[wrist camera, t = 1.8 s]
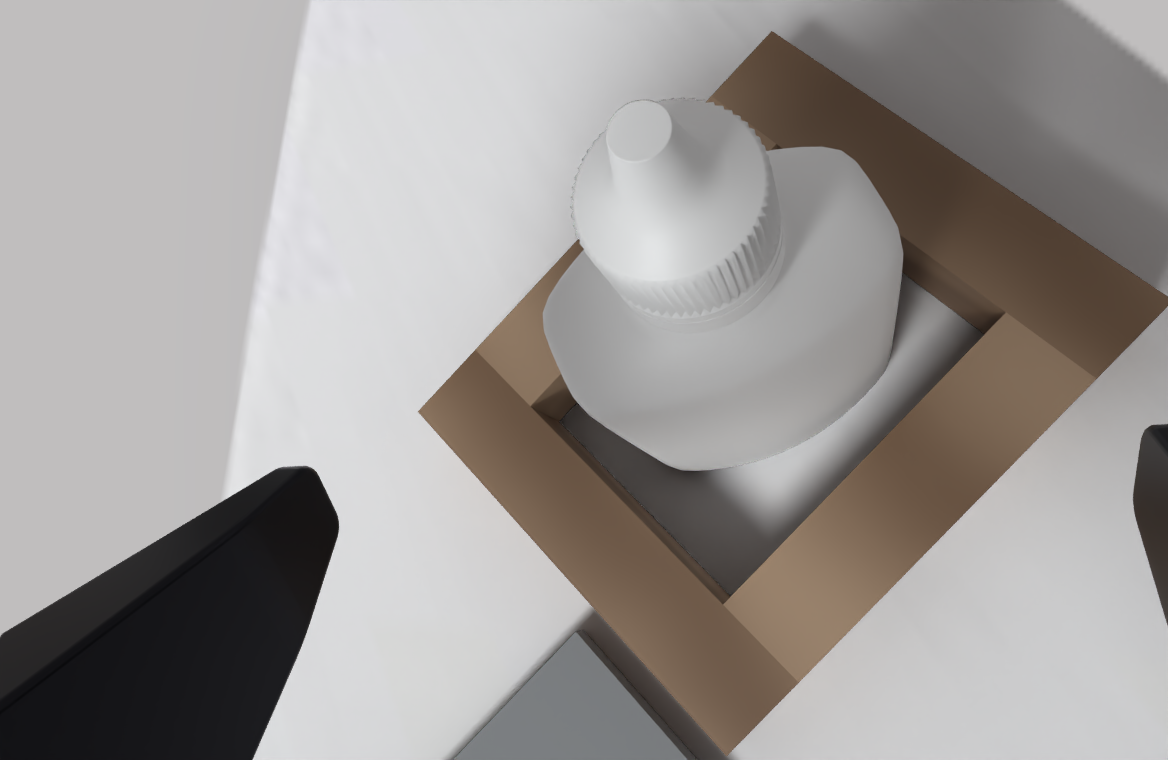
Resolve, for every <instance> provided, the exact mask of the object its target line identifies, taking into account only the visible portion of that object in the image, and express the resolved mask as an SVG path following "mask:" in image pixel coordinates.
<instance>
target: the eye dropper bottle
mask: <svg viewBox="0 0 1168 760" xmlns="http://www.w3.org/2000/svg"><path fill="white" fill-rule="evenodd" d="M582 162H583V163H582V164H581V165H580V166H579V168H578V170H579V172H578V173H577V175H576V176H575V180H576V182H575V183H574V185H573V187H572V188H573V190H574V192H573V194H572V196H571V198H572V200H573V202H572V204H571V209H572V210H573V212H572V215H571V217H572V218H573V220H574V223H573V227H574V228H575V229H576V236H577V237H578V238H579V240H580V243H579V244H580V245H581V246H582V247H583V248H584V250H583V251H582V252H581V253H580V254H579V256H578V257H577V258H576V259H575V260H574V262H573V263H572V264H571V265H570V267H569V268H568V269H567V270H566V272H565V273H564V274H563V276H562V277H561V278H560V280H559V281H558V283H557V284H556V286H555V287H554V289H553V291H552V292H551V294H550V295H549V297H548V300H547V303H546V305H545V308H544V311H543V326H544V333H545V336H546V339H547V341H548V344H549V347H550V349H551V352H552V354H553V356H554V359H555V361H556V363H557V366H558V368H559V370H560V372H561V375H562V377H563V379H564V381H565V383H566V385H567V387H568V389H569V391H570V393H571V395H572V396H573V398H574V399H575V400H576V401H577V403H578V404H579V405H580V406H581V407H582V408H583V409H584V410H585V411H586V412H587V414H588V415H589V416H591V417H592V418H594V419H595V420H596V421H598V422H599V423H601V424H602V425H603V426H605V427H606V428H608V429H609V430H611V431H612V432H614V433H616V434H617V435H619V436H620V437H622V438H624V439H625V440H627V441H628V442H630V443H631V444H633V445H635V446H636V447H638V448H640V449H641V450H643V451H645V452H646V453H648V454H649V455H651V456H653V457H654V458H656V459H658V460H659V461H661V462H663V463H664V464H666V465H668V466H670V467H673V468H676V469H679V470H683V471H702V470H714V469H721V468H728V467H734V466H739V465H743V464H747V463H751V462H755V461H758V460H762V459H765V458H768V457H771V456H773V455H776V454H779V453H781V452H784V451H786V450H788V449H790V448H792V447H795V446H797V445H798V444H800V443H802V442H804V441H806V440H808V439H810V438H811V437H813V436H815V435H816V434H818V433H820V432H821V431H823V430H824V429H825V428H827V427H828V426H830V425H831V424H833V423H834V422H835V421H836V420H838V419H839V418H840V417H842V416H843V415H844V414H845V413H846V412H848V411H849V410H850V409H851V408H852V407H853V406H854V405H855V404H856V403H857V402H858V401H860V400H861V399H862V398H863V397H864V396H865V395H866V394H867V392H868V391H869V390H870V389H871V388H872V387H873V386H874V385H875V384H876V382H877V381H878V380H879V378H880V377H881V376H882V374H883V373H884V372H885V370H886V367H887V364H888V362H889V359H890V355H891V349H892V343H893V336H894V329H895V323H896V316H897V309H898V301H899V294H900V287H901V279H902V267H903V249H902V244H901V239H900V234H899V230H898V226H897V224H896V223H895V221H894V219H893V217H892V215H891V213H890V211H889V210H888V208H887V206H886V205H885V203H884V202H883V200H882V198H881V197H880V195H879V194H878V192H877V190H876V189H875V187H874V186H873V184H872V183H871V181H870V180H869V178H868V177H867V175H866V174H865V173H864V171H863V170H862V169H861V167H860V166H859V165H858V163H857V162H856V161H855V160H854V159H852V158H851V157H850V156H848V155H847V154H846V153H844V152H843V151H841V150H837V149H832V148H827V147H795V148H785V149H776V150H770V151H766V149H765V146H764V145H762V144H761V139H760V137H758V136H756V134H755V130H754V129H752V128H749V126H748V122H745V121H742V120H741V117H740V116H739V115H733V112H732V110H725V109H724V107H723V106H716V105H715V104H714V102H707V103H706V102H705V100H697V101H696V100H695V99H694V98H692V99H687V100H686V99H685V98H681V99H674V98H672V99H670V100H661V101H659V102H654V101H651V100H637V101H633V102H630V103H628V104H626V105H624V106H623V107H621V108H620V109H619V110H618V111H617V112H616V113H615V114H614V115H613V116H612V118H611V119H610V121H609V123H608V126H607V129H606V130H605V131H604V132H603V133H601V134H600V135H599V138H598V139H597V140H595V141H594V142H593V145H592V147H591V148H589V149H588V150H587V155H586V156H585V157H584V158H583V159H582Z"/></svg>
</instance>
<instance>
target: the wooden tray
mask: <svg viewBox="0 0 1168 760" xmlns="http://www.w3.org/2000/svg"><path fill="white" fill-rule="evenodd" d="M707 102H714V104H715V105H716V106H723V107H724V109H725V110H732V112H733V115H739V116H740V117H741V120H742V121H745V122H748V126H749V128H752V129H754V130H755V134H756V136H758V137H760V139H761V144H762V145H764V146H765V149H766V151H770V150H776V149H785V148H795V147H827V148H832V149H837V150H841V151H843V152H844V153H846V154H847V155H848V156H850V157H851V158H852V159H854V160H855V161H856V162H857V163H858V165H859V166H860V167H861V169H862V170H863V171H864V173H865V174H866V175H867V177H868V178H869V180H870V181H871V183H872V184H873V186H874V187H875V189H876V190H877V192H878V194H879V195H880V197H881V198H882V200H883V202H884V203H885V205H886V206H887V208H888V210H889V211H890V213H891V215H892V217H893V219H894V221H895V223H896V224H897V226H898V230H899V234H900V239H901V244H902V249H903V267H902V273H904V274H905V275H906V276H908V277H909V278H910V279H912V280H913V281H914V282H916V283H917V284H918V285H920V286H921V287H922V288H924V289H925V290H926V291H928V292H929V293H930V294H932V295H933V296H934V297H936V298H937V299H938V300H940V301H941V302H942V303H944V304H945V305H946V306H948V307H949V308H950V309H952V310H953V311H954V312H956V313H957V314H958V315H960V316H961V317H962V318H964V319H965V320H966V321H967V322H969V323H970V324H971V325H973V326H974V327H975V328H977V329H978V330H979V331H981V332H982V333H983V334H985V335H984V336H983V337H982V338H981V339H980V340H979V341H978V342H977V343H976V344H975V345H974V346H973V347H972V348H971V349H970V350H969V351H968V352H967V353H966V354H965V355H964V356H963V357H962V358H961V359H960V360H959V361H958V362H957V363H956V364H955V365H954V367H953V368H952V369H951V370H950V371H949V372H948V373H947V374H946V375H945V376H944V377H943V378H942V379H941V380H940V381H939V382H938V383H937V384H936V385H935V386H934V387H933V388H932V389H931V390H930V391H929V392H928V393H927V394H926V395H925V396H924V398H923V399H922V400H921V401H920V402H919V403H918V404H917V405H916V406H915V407H914V408H913V409H912V410H911V411H910V412H909V413H908V414H907V415H906V416H905V417H904V418H903V419H902V420H901V421H900V422H899V423H898V424H897V425H896V426H895V427H894V428H893V430H892V431H891V432H890V433H889V434H888V435H887V436H886V437H885V438H884V439H883V440H882V441H881V442H880V443H879V444H878V445H877V446H876V447H875V448H874V449H873V450H872V451H871V452H870V453H869V454H868V455H867V456H866V457H865V458H864V459H863V461H862V462H861V463H860V464H859V465H858V466H857V467H856V468H855V469H854V470H853V471H852V472H851V473H850V474H849V475H848V476H847V477H846V478H845V479H844V480H843V481H842V482H841V483H840V484H839V485H838V486H837V487H836V488H835V489H834V490H833V491H832V493H831V494H830V495H829V496H828V497H827V498H826V499H825V500H824V501H823V502H822V503H821V504H820V505H819V506H818V507H817V508H816V509H815V510H814V511H813V512H812V513H811V514H810V515H809V516H808V517H807V518H806V519H805V520H804V521H803V522H802V524H801V525H800V526H799V527H798V528H797V529H796V530H795V531H794V532H793V533H792V534H791V535H790V536H789V537H788V538H787V539H786V540H785V541H784V542H783V543H782V544H781V545H780V546H779V547H778V548H777V549H776V550H775V551H774V552H773V553H772V554H771V556H770V557H769V558H768V559H767V560H766V561H765V562H764V563H763V564H762V565H761V566H760V567H759V568H758V569H757V570H756V571H755V572H754V573H753V574H752V575H751V576H750V577H749V578H748V579H747V580H746V581H745V582H744V583H743V584H742V585H741V586H740V588H739V589H738V590H737V591H736V592H735V593H734V594H733V595H732V596H730V595H729V594H728V593H727V592H726V591H725V590H724V589H723V588H722V587H721V586H720V585H719V584H718V583H717V582H716V581H715V580H714V579H713V578H712V577H711V576H710V575H709V574H708V573H707V572H706V571H705V570H704V569H703V568H702V567H701V566H700V565H699V564H698V563H697V562H696V561H695V560H694V559H693V558H692V557H691V556H690V555H689V554H688V553H687V552H686V551H685V550H684V548H683V547H682V546H681V545H680V544H679V543H678V542H677V541H676V540H675V539H674V538H673V537H672V536H671V535H670V534H669V533H668V532H667V531H666V530H665V529H664V528H663V527H662V526H661V525H660V524H659V523H658V522H657V521H656V520H655V519H654V518H653V517H652V516H651V515H650V514H649V513H648V512H647V511H646V510H645V509H644V508H643V507H642V506H641V505H640V504H639V503H638V502H637V501H636V500H635V499H634V497H633V496H632V495H631V494H630V493H629V492H628V491H627V490H626V489H625V488H624V487H623V486H622V485H621V484H620V483H619V482H618V481H617V480H616V479H615V478H614V477H613V476H612V475H611V474H610V473H609V472H608V471H607V470H606V469H605V468H604V467H603V466H602V465H601V464H600V463H599V462H598V461H597V460H596V459H595V458H594V457H593V456H592V455H591V454H590V453H589V452H588V451H587V450H586V449H585V448H584V446H583V445H582V444H581V443H580V442H579V441H578V440H577V439H576V438H575V437H574V436H573V435H572V434H571V433H570V432H569V431H568V430H567V429H566V428H565V427H564V426H563V425H562V424H561V423H560V422H559V421H560V420H561V419H562V418H563V417H564V416H565V415H566V414H567V412H568V411H569V410H570V409H571V408H572V407H573V406H574V405H575V404H576V403H577V401H576V400H575V399H574V398H573V396H572V395H571V393H570V391H569V389H568V387H567V385H566V383H565V381H564V379H563V377H562V375H561V372H560V370H559V368H558V366H557V363H556V361H555V359H554V356H553V354H552V352H551V349H550V347H549V344H548V341H547V339H546V336H545V333H544V326H543V311H544V308H545V305H546V303H547V300H548V297H549V295H550V294H551V292H552V291H553V289H554V287H555V286H556V284H557V283H558V281H559V280H560V278H561V277H562V276H563V274H564V273H565V272H566V270H567V269H568V268H569V267H570V265H571V264H572V263H573V262H574V260H575V259H576V258H577V257H578V256H579V254H580V253H581V252H582V251H583V250H584V248H583V247H582V246H581V245H580V244H579V243H580V240H579V239H578V240H577V241H576V242H575V243H574V244H573V245H572V247H571V248H570V249H569V250H568V251H567V252H566V253H565V254H564V255H563V256H562V257H561V258H560V259H559V261H558V262H557V263H556V264H555V265H554V266H553V267H552V268H551V269H550V270H549V271H548V272H547V273H546V274H545V276H544V277H543V278H542V279H541V280H540V281H539V282H538V283H537V284H536V285H535V286H534V287H533V288H532V290H531V291H530V292H529V293H528V294H527V295H526V296H525V297H524V298H523V299H522V300H521V301H520V302H519V304H518V305H517V306H516V307H515V308H514V309H513V310H512V311H511V312H510V313H509V314H508V315H507V316H506V318H505V319H504V320H503V321H502V322H501V323H500V324H499V325H498V326H497V327H496V328H495V329H494V330H493V331H492V333H491V334H490V335H489V336H488V337H487V338H486V339H485V340H484V341H483V342H482V343H481V344H480V345H479V347H478V348H477V349H476V350H475V351H474V352H473V353H472V354H471V355H470V356H469V357H468V358H467V359H466V361H465V362H464V363H463V364H462V365H461V366H460V367H459V368H458V369H457V370H456V371H455V372H454V373H453V375H452V376H451V377H450V378H449V379H448V380H447V381H446V382H445V383H444V384H443V385H442V386H441V387H440V388H439V390H438V391H437V392H436V393H435V394H434V395H433V396H432V397H431V398H430V399H429V400H428V401H427V402H426V404H425V405H424V406H423V407H422V408H421V409H420V410H419V411H418V412H419V413H420V415H421V416H422V417H423V418H424V419H425V420H426V421H427V422H428V424H429V425H430V426H431V427H432V428H433V429H434V430H435V431H436V432H437V434H438V435H439V436H440V437H441V438H442V439H443V440H444V441H445V443H446V444H447V445H448V446H449V447H450V448H451V449H452V450H453V451H454V453H455V454H456V455H457V456H458V457H459V458H460V459H461V460H462V461H463V463H464V464H465V465H466V466H467V467H468V468H469V469H470V470H471V472H472V473H473V474H474V475H475V476H476V477H477V478H478V479H479V480H480V482H481V483H482V484H483V485H484V486H485V487H486V488H487V489H488V491H489V492H490V493H491V494H492V495H493V496H494V497H495V498H496V499H497V501H498V502H499V503H500V504H501V505H502V506H503V507H504V508H505V510H506V511H507V512H508V513H509V514H510V515H511V516H512V517H513V518H514V520H515V521H516V522H517V523H518V524H519V525H520V526H521V527H522V529H523V530H524V531H525V532H526V533H527V534H528V535H529V536H530V537H531V539H532V540H533V541H534V542H535V543H536V544H537V545H538V546H539V548H540V549H541V550H542V551H543V552H544V553H545V554H546V555H547V556H548V558H549V559H550V560H551V561H552V562H553V563H554V564H555V565H556V566H557V568H558V569H559V570H560V571H561V572H562V573H563V574H564V575H565V577H566V578H567V579H568V580H569V581H570V582H571V583H572V584H573V585H574V587H575V588H576V589H577V590H578V591H579V592H580V593H581V594H582V596H583V597H584V598H585V599H586V600H587V601H588V602H589V603H590V604H591V606H592V607H593V608H594V609H595V610H596V611H597V612H598V613H599V615H600V616H601V617H602V618H603V619H604V620H605V621H606V622H607V623H608V625H609V626H610V627H611V628H612V629H613V630H614V631H615V632H616V634H617V635H618V636H619V637H620V638H621V639H622V640H623V641H624V642H625V644H626V645H627V646H628V647H629V648H630V649H631V650H632V651H633V652H634V654H635V655H636V656H637V657H638V658H639V659H640V660H641V661H642V663H643V664H644V665H645V666H646V667H647V668H648V669H649V670H650V671H651V673H652V674H653V675H654V676H655V677H656V678H657V679H658V680H659V682H660V683H661V684H662V685H663V686H664V687H665V688H666V689H667V690H668V692H669V693H670V694H671V695H672V696H673V697H674V698H675V699H676V701H677V702H678V703H679V704H680V705H681V706H682V707H683V708H684V709H685V711H686V712H687V713H688V714H689V715H690V716H691V717H692V718H693V720H694V721H695V722H696V723H697V724H698V725H699V726H700V727H701V728H702V730H703V731H704V732H705V733H706V734H707V735H708V736H709V737H710V739H711V740H712V741H713V742H714V743H715V744H716V745H717V746H718V747H719V749H720V750H721V751H722V752H723V753H724V754H725V755H726V756H727V755H728V754H729V753H730V752H731V751H732V750H733V749H734V748H735V747H736V746H737V745H738V744H739V743H740V742H741V741H742V740H743V739H744V738H745V737H746V736H747V735H748V734H749V733H750V732H751V731H752V730H753V729H754V728H755V727H756V726H757V725H758V724H759V723H760V722H761V721H762V720H763V718H764V717H765V716H766V715H767V714H768V713H769V712H770V711H771V710H772V709H773V708H774V707H775V706H776V705H777V704H778V703H779V702H780V701H781V700H782V699H783V698H784V697H785V696H786V695H787V694H788V693H789V692H790V691H791V690H792V689H793V688H794V687H795V686H796V685H797V684H798V683H799V682H800V681H801V680H802V679H803V678H804V677H805V676H806V675H807V674H808V673H809V672H810V671H811V670H812V669H813V667H814V666H815V665H816V664H817V663H818V662H819V661H820V660H821V659H822V658H823V657H824V656H825V655H826V654H827V653H828V652H829V651H830V650H831V649H832V648H833V647H834V646H835V645H836V644H837V643H838V642H839V641H840V640H841V639H842V638H843V637H844V636H845V635H846V634H847V633H848V632H849V631H850V630H851V629H852V628H853V627H854V626H855V625H856V624H857V623H858V622H859V621H860V620H861V619H862V618H863V616H864V615H865V614H866V613H867V612H868V611H869V610H870V609H871V608H872V607H873V606H874V605H875V604H876V603H877V602H878V601H879V600H880V599H881V598H882V597H883V596H884V595H885V594H886V593H887V592H888V591H889V590H890V589H891V588H892V587H893V586H894V585H895V584H896V583H897V582H898V581H899V580H900V579H901V578H902V577H903V576H904V575H905V574H906V573H907V572H908V571H909V570H910V569H911V568H912V567H913V565H914V564H915V563H916V562H917V561H918V560H919V559H920V558H921V557H922V556H923V555H924V554H925V553H926V552H927V551H928V550H929V549H930V548H931V547H932V546H933V545H934V544H935V543H936V542H937V541H938V540H939V539H940V538H941V537H942V536H943V535H944V534H945V533H946V532H947V531H948V530H949V529H950V528H951V527H952V526H953V525H954V524H955V523H956V522H957V521H958V520H959V519H960V518H961V517H962V516H963V514H964V513H965V512H966V511H967V510H968V509H969V508H970V507H971V506H972V505H973V504H974V503H975V502H976V501H977V500H978V499H979V498H980V497H981V496H982V495H983V494H984V493H985V492H986V491H987V490H988V489H989V488H990V487H991V486H992V485H993V484H994V483H995V482H996V481H997V480H998V479H999V478H1000V477H1001V476H1002V475H1003V474H1004V473H1005V472H1006V471H1007V470H1008V469H1009V468H1010V467H1011V466H1012V465H1013V464H1014V462H1015V461H1016V460H1017V459H1018V458H1019V457H1020V456H1021V455H1022V454H1023V453H1024V452H1025V451H1026V450H1027V449H1028V448H1029V447H1030V446H1031V445H1032V444H1033V443H1034V442H1035V441H1036V440H1037V439H1038V438H1039V437H1040V436H1041V435H1042V434H1043V433H1044V432H1045V431H1046V430H1047V429H1048V428H1049V427H1050V426H1051V425H1052V424H1053V423H1054V422H1055V421H1056V420H1057V419H1058V418H1059V417H1060V416H1061V415H1062V414H1063V413H1064V411H1065V410H1066V409H1067V408H1068V407H1069V406H1070V405H1071V404H1072V403H1073V402H1074V401H1075V400H1076V399H1077V398H1078V397H1079V396H1080V395H1081V394H1082V393H1083V392H1084V391H1085V390H1086V389H1087V388H1088V387H1089V386H1090V385H1091V384H1092V383H1093V382H1094V381H1095V380H1096V379H1097V378H1098V377H1099V376H1100V375H1101V374H1102V373H1103V372H1104V371H1105V370H1106V369H1107V368H1108V367H1109V366H1110V365H1111V364H1112V363H1113V362H1114V360H1115V359H1116V358H1117V357H1118V356H1119V355H1120V354H1121V353H1122V352H1123V351H1124V350H1125V349H1126V348H1127V347H1128V346H1129V345H1130V344H1131V343H1132V342H1133V341H1134V340H1135V339H1136V338H1137V337H1138V336H1139V335H1140V334H1141V333H1142V332H1143V331H1144V330H1145V329H1146V328H1147V327H1148V326H1149V325H1150V324H1151V323H1152V322H1153V321H1154V320H1155V319H1156V318H1157V317H1158V316H1159V315H1160V314H1161V313H1162V312H1163V311H1164V309H1165V308H1166V307H1167V306H1168V297H1167V296H1166V295H1164V294H1163V293H1161V292H1160V291H1158V290H1157V289H1155V288H1154V287H1152V286H1151V285H1150V284H1148V283H1147V282H1145V281H1144V280H1142V279H1141V278H1139V277H1138V276H1136V275H1135V274H1133V273H1132V272H1130V271H1129V270H1127V269H1126V268H1124V267H1123V266H1121V265H1120V264H1118V263H1117V262H1115V261H1114V260H1112V259H1111V258H1109V257H1108V256H1106V255H1105V254H1103V253H1102V252H1100V251H1099V250H1097V249H1096V248H1094V247H1093V246H1091V245H1090V244H1088V243H1087V242H1085V241H1084V240H1082V239H1081V238H1079V237H1078V236H1076V235H1075V234H1073V233H1072V232H1070V231H1069V230H1068V229H1066V228H1065V227H1063V226H1062V225H1060V224H1059V223H1057V222H1056V221H1054V220H1053V219H1051V218H1050V217H1048V216H1047V215H1045V214H1044V213H1042V212H1041V211H1039V210H1038V209H1036V208H1035V207H1033V206H1032V205H1030V204H1029V203H1027V202H1026V201H1024V200H1023V199H1021V198H1020V197H1018V196H1017V195H1015V194H1014V193H1012V192H1011V191H1009V190H1008V189H1006V188H1005V187H1003V186H1002V185H1000V184H999V183H997V182H996V181H994V180H993V179H991V178H990V177H988V176H987V175H986V174H984V173H983V172H981V171H980V170H978V169H977V168H975V167H974V166H972V165H971V164H969V163H968V162H966V161H965V160H963V159H962V158H960V157H959V156H957V155H956V154H954V153H953V152H951V151H950V150H948V149H947V148H945V147H944V146H942V145H941V144H939V143H938V142H936V141H935V140H933V139H932V138H930V137H929V136H927V135H926V134H924V133H923V132H921V131H920V130H918V129H917V128H915V127H914V126H912V125H911V124H909V123H908V122H906V121H905V120H904V119H902V118H901V117H899V116H898V115H896V114H895V113H893V112H892V111H890V110H889V109H887V108H886V107H884V106H883V105H881V104H880V103H878V102H877V101H875V100H874V99H872V98H871V97H869V96H868V95H866V94H865V93H863V92H862V91H860V90H859V89H857V88H856V87H854V86H853V85H851V84H850V83H848V82H847V81H845V80H844V79H842V78H841V77H839V76H838V75H836V74H835V73H833V72H832V71H830V70H829V69H827V68H826V67H824V66H823V65H822V64H820V63H819V62H817V61H816V60H814V59H813V58H811V57H810V56H808V55H807V54H805V53H804V52H802V51H801V50H799V49H798V48H796V47H795V46H793V45H792V44H790V43H789V42H787V41H786V40H784V39H783V38H781V37H780V36H778V35H777V34H775V33H774V32H772V31H771V33H770V34H769V35H768V36H767V37H766V38H765V39H764V40H763V41H762V42H761V43H760V44H759V45H758V46H757V48H756V49H755V50H754V51H753V52H752V53H751V54H750V55H749V56H748V57H747V58H746V59H745V60H744V62H743V63H742V64H741V65H740V66H739V67H738V68H737V69H736V70H735V71H734V72H733V73H732V74H731V76H730V77H729V78H728V79H727V80H726V81H725V82H724V83H723V84H722V85H721V86H720V87H719V88H718V90H717V91H716V92H715V93H714V94H713V95H712V96H711V97H710V98H709V99H708V100H707V101H706V103H707Z"/></svg>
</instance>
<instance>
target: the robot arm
mask: <svg viewBox="0 0 1168 760" xmlns="http://www.w3.org/2000/svg"><path fill="white" fill-rule="evenodd" d="M1133 505H1134V512H1135V517H1136V521H1137V524H1138V528H1139V531H1140V535H1141V538H1142V541H1143V545H1144V548H1145V551H1146V555H1147V558H1148V561H1149V565H1150V568H1151V571H1152V575H1153V578H1154V581H1155V585H1156V588H1157V592H1158V595H1159V598H1160V602H1161V605H1162V608H1163V612H1164V615H1165V618H1166V622H1167V625H1168V424H1162V425H1151V426H1150V427H1148V428H1147V429H1146V430H1145V431H1144V433H1143V435H1142V438H1141V443H1140V450H1139V457H1138V464H1137V471H1136V478H1135V484H1134V492H1133ZM338 532H339V520H338V516H337V513H336V511H335V509H334V507H333V505H332V503H331V500H330V498H329V496H328V494H327V492H326V490H325V488H324V486H323V484H322V482H321V480H320V477H319V475H318V474H317V472H316V471H315V470H314V469H312V468H311V467H308V466H293V467H281V468H278V469H276V470H274V471H272V472H270V473H269V474H267V475H265V476H264V477H262V478H260V479H259V480H257V481H256V482H254V483H252V484H251V485H249V486H247V487H246V488H244V489H242V490H241V491H239V492H237V493H236V494H234V495H232V496H231V497H229V498H227V499H226V500H224V501H222V502H221V503H219V504H217V505H216V506H214V507H213V508H211V509H209V510H208V511H206V512H204V513H202V514H201V515H199V516H197V517H196V518H194V519H192V520H191V521H189V522H187V523H186V524H184V525H182V526H181V527H179V528H177V529H176V530H174V531H172V532H171V533H169V534H167V535H166V536H164V537H162V538H161V539H159V540H157V541H156V542H154V543H152V544H151V545H149V546H147V547H146V548H144V549H143V550H141V551H139V552H137V553H136V554H134V555H132V556H131V557H129V558H127V559H126V560H124V561H122V562H121V563H119V564H117V565H116V566H114V567H113V568H111V569H109V570H107V571H106V572H104V573H102V574H101V575H99V576H97V577H96V578H94V579H92V580H91V581H89V582H88V583H86V584H84V585H83V586H81V587H79V588H78V589H76V590H74V591H73V592H71V593H69V594H68V595H66V596H64V597H63V598H61V599H59V600H58V601H56V602H54V603H53V604H51V605H49V606H48V607H46V608H44V609H43V610H41V611H39V612H38V613H36V614H34V615H33V616H31V617H29V618H28V619H26V620H24V621H23V622H21V623H19V624H18V625H16V626H14V627H13V628H11V629H9V630H8V631H6V632H4V633H3V634H2V635H1V637H0V760H253V757H254V755H255V753H256V751H257V748H258V746H259V744H260V741H261V739H262V737H263V734H264V732H265V730H266V728H267V725H268V723H269V721H270V718H271V716H272V714H273V712H274V709H275V707H276V705H277V702H278V700H279V698H280V695H281V693H282V691H283V689H284V686H285V684H286V682H287V679H288V677H289V675H290V673H291V670H292V668H293V666H294V663H295V661H296V659H297V656H298V654H299V651H300V649H301V646H302V644H303V641H304V638H305V635H306V633H307V630H308V627H309V624H310V621H311V618H312V615H313V612H314V609H315V605H316V602H317V599H318V596H319V593H320V590H321V587H322V584H323V581H324V577H325V574H326V571H327V568H328V565H329V562H330V559H331V556H332V553H333V550H334V546H335V543H336V540H337V537H338Z"/></svg>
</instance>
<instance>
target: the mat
mask: <svg viewBox="0 0 1168 760" xmlns="http://www.w3.org/2000/svg"><path fill="white" fill-rule="evenodd" d="M453 760H697V759H696V758H695V756H694V755H693V754H692V753H691V752H690V751H689V750H688V748H687V747H686V746H685V745H684V744H683V743H682V742H681V740H680V739H679V738H678V737H677V736H676V735H675V734H674V733H673V731H672V730H671V729H670V728H669V727H668V726H667V725H666V723H665V722H664V721H663V720H662V719H661V718H660V717H659V715H658V714H657V713H656V712H655V711H654V710H653V709H652V707H651V706H650V705H649V704H648V703H647V702H646V701H645V699H644V698H643V697H642V696H641V695H640V694H639V693H638V692H637V690H636V689H635V688H634V687H633V686H632V685H631V684H630V682H629V681H628V680H627V679H626V678H625V677H624V676H623V674H622V673H621V672H620V671H619V670H618V669H617V668H616V666H615V665H614V664H613V663H612V662H611V661H610V660H609V659H608V657H607V656H606V655H605V654H604V653H603V652H602V651H601V649H600V648H599V647H598V646H597V645H596V644H595V643H594V641H593V640H592V639H591V638H590V637H589V636H588V635H587V633H586V632H585V631H584V630H582V631H577V632H575V633H574V634H573V635H572V636H571V637H570V638H569V639H568V640H567V641H566V642H565V643H564V644H563V645H562V647H561V648H560V649H559V650H558V651H557V652H556V653H555V654H554V655H553V656H552V657H551V658H550V659H549V660H548V661H547V662H546V663H545V664H544V665H543V666H542V667H541V668H540V669H539V671H538V672H537V673H536V674H535V675H534V676H533V677H532V678H531V679H530V680H529V681H528V682H527V683H526V684H525V685H524V686H523V687H522V688H521V689H520V690H519V691H518V692H517V693H516V694H515V696H514V697H513V698H512V699H511V700H510V701H509V702H508V703H507V704H506V705H505V706H504V707H503V708H502V709H501V710H500V711H499V712H498V713H497V714H496V715H495V716H494V717H493V718H492V720H491V721H490V722H489V723H488V724H487V725H486V726H485V727H484V728H483V729H482V730H481V731H480V732H479V733H478V734H477V735H476V736H475V737H474V738H473V739H472V740H471V741H470V742H469V744H468V745H467V746H466V747H465V748H464V749H463V750H462V751H461V752H460V753H459V754H458V755H457V756H456V757H455V758H454V759H453Z"/></svg>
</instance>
